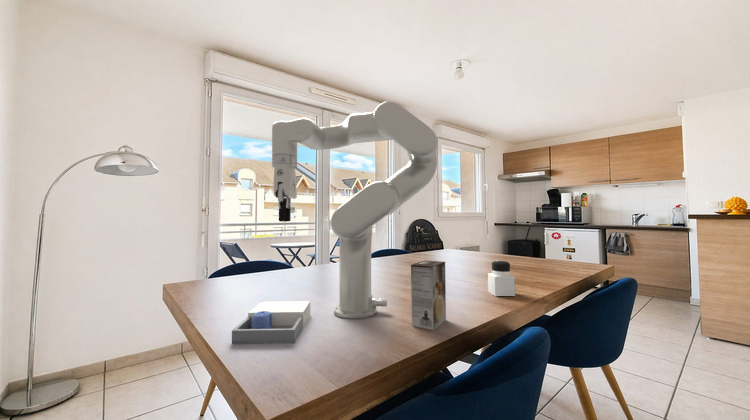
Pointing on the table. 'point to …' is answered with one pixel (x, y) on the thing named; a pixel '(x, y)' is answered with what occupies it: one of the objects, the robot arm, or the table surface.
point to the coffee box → (428, 294)
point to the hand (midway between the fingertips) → (284, 221)
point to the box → (266, 333)
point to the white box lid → (284, 311)
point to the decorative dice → (262, 320)
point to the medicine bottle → (501, 279)
